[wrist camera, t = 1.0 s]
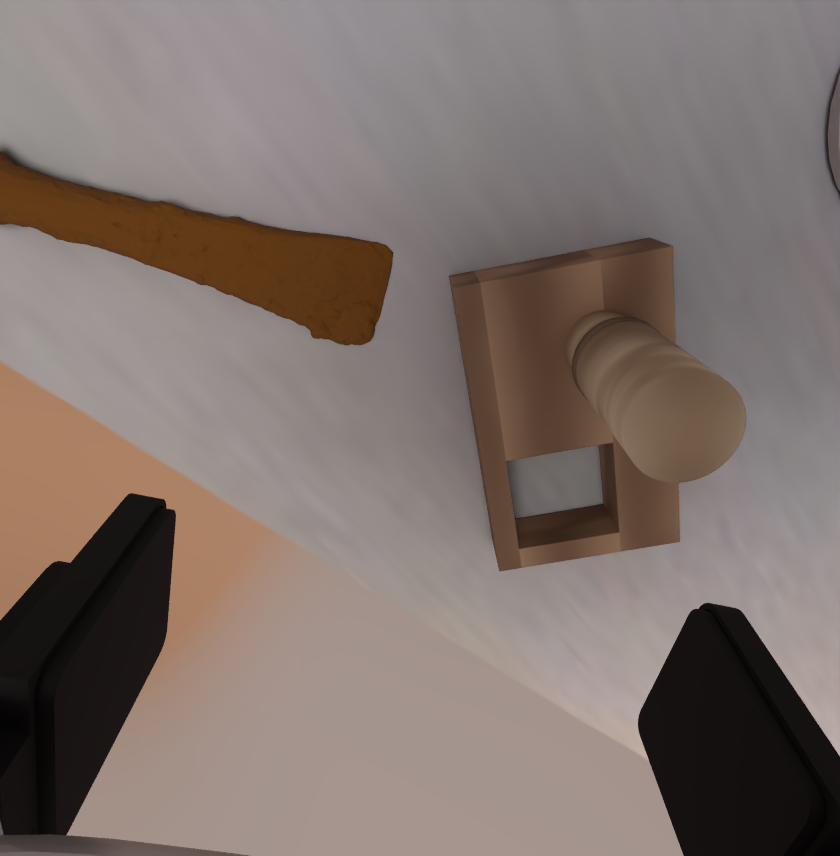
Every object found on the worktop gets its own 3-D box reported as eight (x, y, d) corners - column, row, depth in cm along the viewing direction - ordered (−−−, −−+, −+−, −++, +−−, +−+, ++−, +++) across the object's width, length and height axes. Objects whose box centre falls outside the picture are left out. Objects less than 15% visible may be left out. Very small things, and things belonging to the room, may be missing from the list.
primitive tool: (396, 246, 32) (394, 258, 29) (371, 349, 34) (367, 371, 31) (-9, 138, 29) (-59, 138, 26) (-7, 255, 32) (-54, 268, 28)
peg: (642, 294, 30) (749, 361, 20) (645, 377, 31) (746, 473, 22) (554, 311, 30) (620, 383, 21) (562, 392, 31) (627, 492, 22)
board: (649, 237, 31) (672, 246, 29) (659, 513, 38) (679, 541, 35) (449, 275, 32) (453, 287, 29) (492, 541, 38) (499, 571, 36)
